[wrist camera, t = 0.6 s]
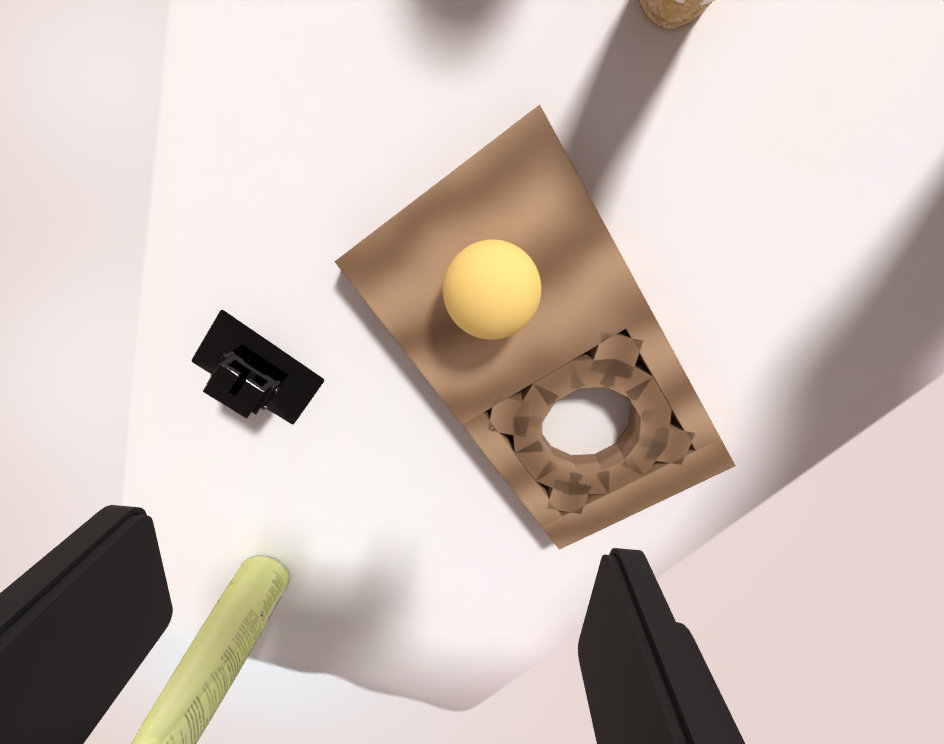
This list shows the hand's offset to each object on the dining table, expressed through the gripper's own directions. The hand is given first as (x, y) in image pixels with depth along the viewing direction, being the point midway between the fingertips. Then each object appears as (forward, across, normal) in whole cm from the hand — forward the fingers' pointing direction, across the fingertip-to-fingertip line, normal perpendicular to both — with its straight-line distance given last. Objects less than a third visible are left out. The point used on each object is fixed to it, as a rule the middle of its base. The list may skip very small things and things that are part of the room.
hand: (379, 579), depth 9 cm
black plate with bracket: (+26, +15, +7) cm, 31 cm away
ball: (+20, -3, -2) cm, 20 cm away
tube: (+26, +16, +29) cm, 42 cm away
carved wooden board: (+25, -8, +4) cm, 27 cm away
